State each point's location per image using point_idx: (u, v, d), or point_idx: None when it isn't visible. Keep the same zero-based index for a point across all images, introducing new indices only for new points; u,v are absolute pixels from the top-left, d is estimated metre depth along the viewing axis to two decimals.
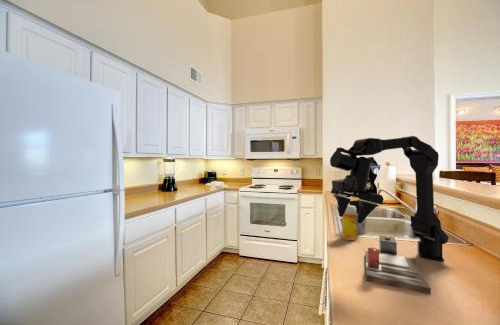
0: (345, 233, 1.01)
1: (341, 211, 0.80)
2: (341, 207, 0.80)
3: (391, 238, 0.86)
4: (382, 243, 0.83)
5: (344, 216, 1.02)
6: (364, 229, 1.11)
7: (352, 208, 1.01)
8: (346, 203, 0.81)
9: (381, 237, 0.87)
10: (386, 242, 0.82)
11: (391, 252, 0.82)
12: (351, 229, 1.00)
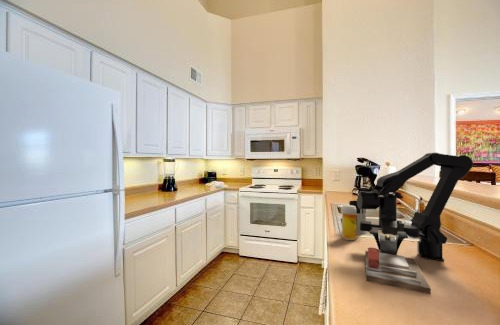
0: (345, 233, 1.01)
1: (379, 245, 0.86)
2: (379, 242, 0.86)
3: (391, 238, 0.86)
4: (382, 243, 0.83)
5: (344, 216, 1.02)
6: None
7: (352, 208, 1.01)
8: None
9: (381, 237, 0.87)
10: (386, 242, 0.82)
11: (391, 252, 0.82)
12: (351, 229, 1.00)
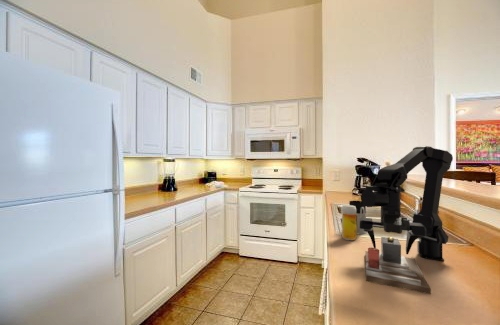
0: (345, 233, 1.01)
1: None
2: None
3: (394, 240, 0.77)
4: (384, 246, 0.74)
5: (344, 216, 1.02)
6: None
7: (352, 208, 1.01)
8: None
9: (383, 239, 0.78)
10: (389, 245, 0.74)
11: (395, 256, 0.73)
12: (351, 229, 1.00)
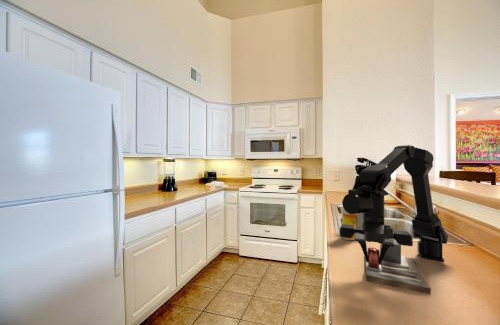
0: None
1: None
2: None
3: (394, 240, 0.77)
4: None
5: (344, 216, 1.02)
6: None
7: None
8: None
9: None
10: None
11: (395, 256, 0.73)
12: None
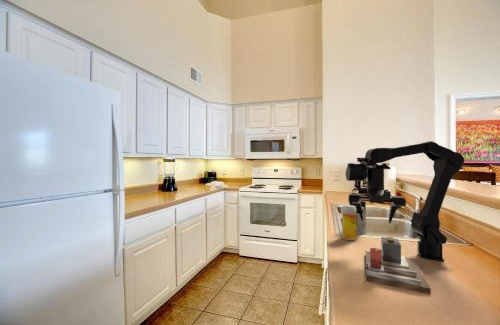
0: (345, 233, 1.01)
1: (362, 216, 0.88)
2: None
3: (394, 240, 0.77)
4: (384, 246, 0.74)
5: (344, 216, 1.02)
6: (364, 229, 1.11)
7: (352, 208, 1.01)
8: None
9: (383, 239, 0.78)
10: (389, 245, 0.74)
11: (395, 256, 0.73)
12: (351, 229, 1.00)
